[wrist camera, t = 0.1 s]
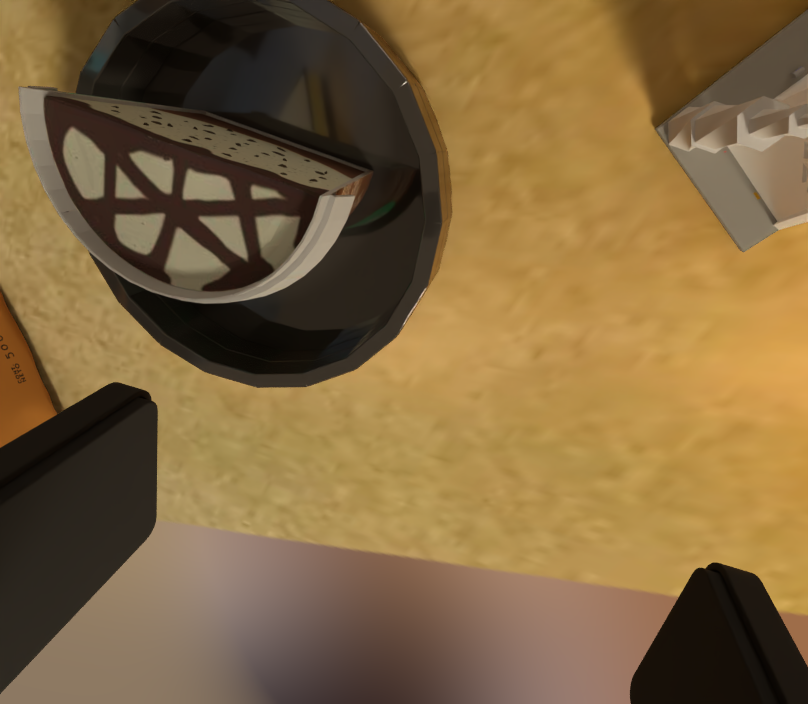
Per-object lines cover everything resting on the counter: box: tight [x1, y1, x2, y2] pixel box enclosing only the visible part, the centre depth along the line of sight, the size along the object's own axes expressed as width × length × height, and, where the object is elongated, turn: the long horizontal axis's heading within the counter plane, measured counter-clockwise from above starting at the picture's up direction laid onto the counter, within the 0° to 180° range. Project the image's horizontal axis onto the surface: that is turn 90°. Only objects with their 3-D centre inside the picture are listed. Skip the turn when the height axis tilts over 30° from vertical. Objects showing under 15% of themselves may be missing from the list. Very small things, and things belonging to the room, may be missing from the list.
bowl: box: [76, 0, 452, 388], centre depth 26 cm, size 19×19×4 cm
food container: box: [19, 86, 374, 304], centre depth 23 cm, size 12×6×10 cm, turn 72°
